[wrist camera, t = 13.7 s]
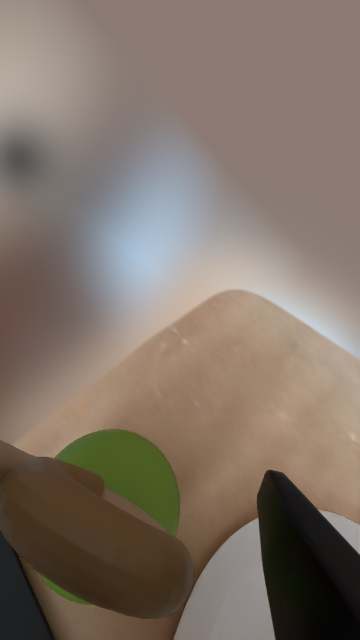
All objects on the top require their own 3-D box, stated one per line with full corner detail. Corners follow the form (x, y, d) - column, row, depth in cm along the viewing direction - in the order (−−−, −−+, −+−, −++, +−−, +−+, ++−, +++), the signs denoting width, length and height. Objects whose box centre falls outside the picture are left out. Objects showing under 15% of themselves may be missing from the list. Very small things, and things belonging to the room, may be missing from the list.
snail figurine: (74, 411, 15) (-59, 258, 5) (189, 467, 15) (315, 428, 4) (2, 531, 13) (-606, 743, 2) (139, 604, 12) (152, 1333, 2)
